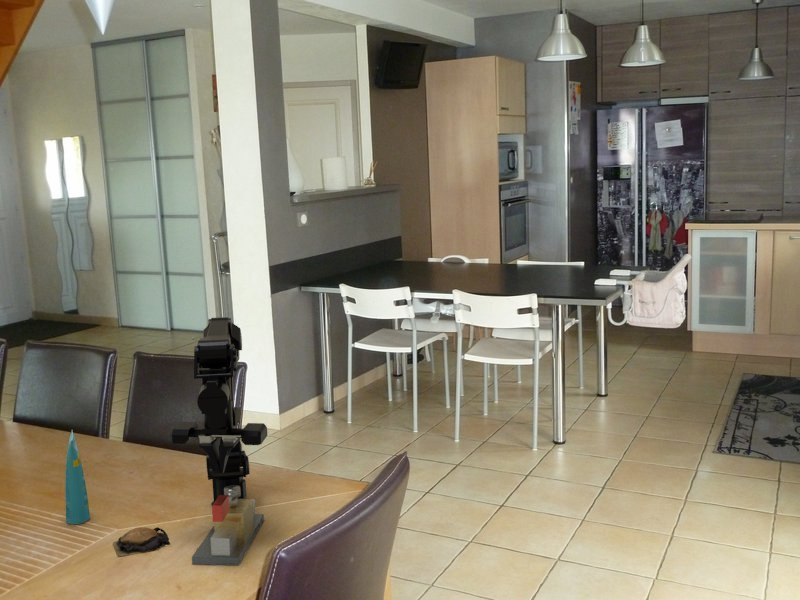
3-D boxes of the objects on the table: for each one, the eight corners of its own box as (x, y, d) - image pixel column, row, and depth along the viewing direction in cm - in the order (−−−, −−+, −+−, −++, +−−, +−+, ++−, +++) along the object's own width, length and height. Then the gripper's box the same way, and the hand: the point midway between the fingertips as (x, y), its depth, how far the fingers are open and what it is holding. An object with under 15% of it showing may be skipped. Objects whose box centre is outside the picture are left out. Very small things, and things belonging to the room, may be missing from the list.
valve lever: (227, 496, 166) (226, 481, 165) (242, 496, 166) (241, 481, 165) (209, 521, 154) (208, 505, 153) (225, 521, 154) (224, 505, 153)
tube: (91, 524, 175) (84, 437, 172) (67, 528, 173) (59, 441, 170) (88, 511, 182) (81, 428, 179) (64, 516, 180) (57, 431, 177)
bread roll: (117, 561, 159) (116, 543, 159) (111, 544, 167) (110, 527, 166) (173, 549, 164) (172, 532, 163) (165, 533, 171) (163, 516, 171)
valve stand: (192, 564, 156) (189, 518, 155) (222, 520, 176) (220, 478, 174) (238, 565, 155) (236, 518, 154) (264, 520, 175) (262, 479, 174)
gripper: (272, 389, 173) (275, 459, 176) (186, 387, 175) (190, 457, 177) (258, 405, 162) (262, 480, 165) (166, 404, 164) (172, 477, 167)
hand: (221, 472), depth 169 cm, fingers closed
